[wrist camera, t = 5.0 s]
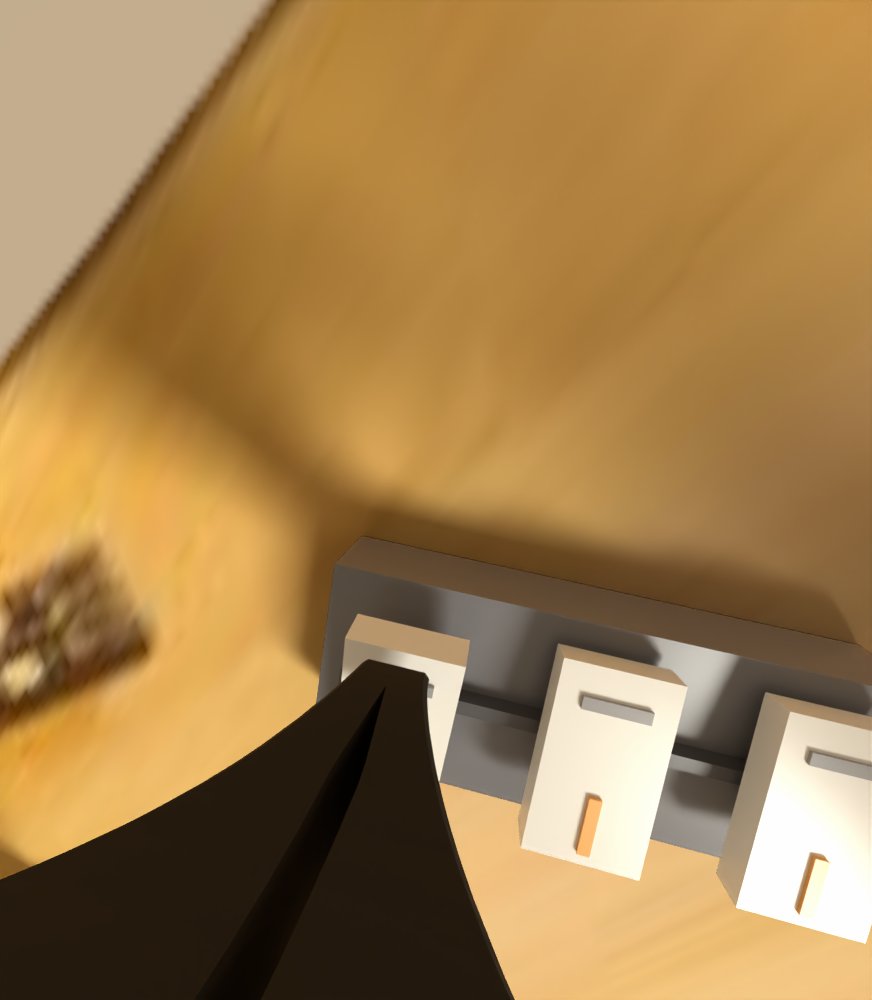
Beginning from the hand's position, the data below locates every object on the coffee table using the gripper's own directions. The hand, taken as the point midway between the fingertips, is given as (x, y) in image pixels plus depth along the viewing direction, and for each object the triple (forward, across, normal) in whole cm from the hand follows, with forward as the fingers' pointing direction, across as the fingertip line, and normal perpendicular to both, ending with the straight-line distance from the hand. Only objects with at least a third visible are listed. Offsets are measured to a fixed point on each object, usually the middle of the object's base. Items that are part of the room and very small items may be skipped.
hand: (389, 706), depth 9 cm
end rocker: (+2, 0, +2) cm, 3 cm away
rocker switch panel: (+5, -5, +2) cm, 8 cm away
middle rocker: (+2, -5, +2) cm, 6 cm away
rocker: (+2, -10, +2) cm, 10 cm away
